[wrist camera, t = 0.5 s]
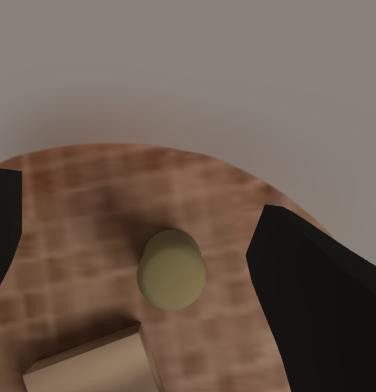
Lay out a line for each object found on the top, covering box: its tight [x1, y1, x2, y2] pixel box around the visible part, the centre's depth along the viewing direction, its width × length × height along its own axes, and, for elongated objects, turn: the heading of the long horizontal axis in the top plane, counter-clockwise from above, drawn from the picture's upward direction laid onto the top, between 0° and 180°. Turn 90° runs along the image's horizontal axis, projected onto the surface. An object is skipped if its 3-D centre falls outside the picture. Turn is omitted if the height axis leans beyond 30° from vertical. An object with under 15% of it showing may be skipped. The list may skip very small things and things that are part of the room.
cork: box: [137, 229, 206, 310], centre depth 30 cm, size 6×6×11 cm
